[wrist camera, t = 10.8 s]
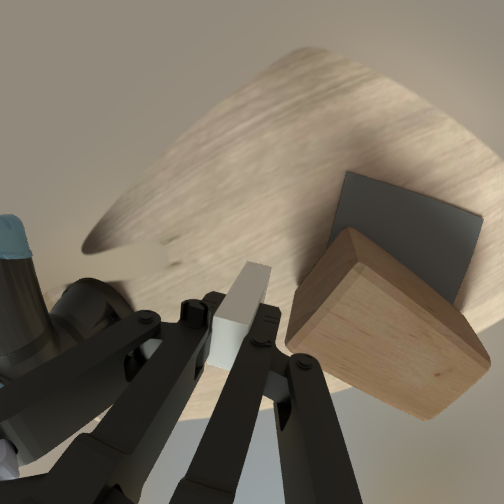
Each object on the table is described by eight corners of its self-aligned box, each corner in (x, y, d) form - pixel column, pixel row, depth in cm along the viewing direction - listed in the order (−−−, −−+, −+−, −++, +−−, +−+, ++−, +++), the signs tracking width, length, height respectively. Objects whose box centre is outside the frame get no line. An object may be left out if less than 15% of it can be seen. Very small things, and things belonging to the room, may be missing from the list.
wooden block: (358, 256, 19) (497, 366, 19) (346, 220, 28) (465, 315, 28) (277, 350, 23) (426, 426, 23) (291, 293, 32) (412, 369, 32)
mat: (317, 281, 31) (317, 282, 31) (346, 171, 27) (346, 171, 27) (446, 313, 29) (447, 314, 28) (482, 218, 25) (483, 219, 24)
